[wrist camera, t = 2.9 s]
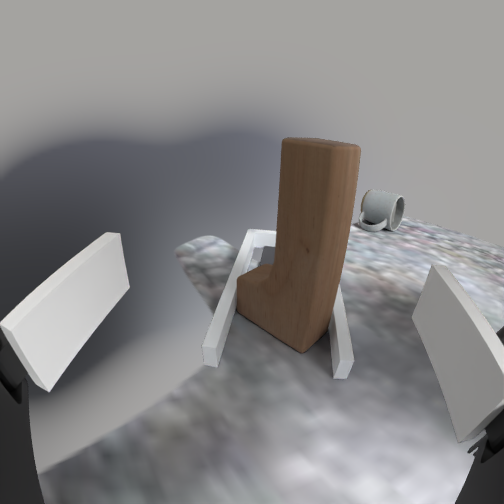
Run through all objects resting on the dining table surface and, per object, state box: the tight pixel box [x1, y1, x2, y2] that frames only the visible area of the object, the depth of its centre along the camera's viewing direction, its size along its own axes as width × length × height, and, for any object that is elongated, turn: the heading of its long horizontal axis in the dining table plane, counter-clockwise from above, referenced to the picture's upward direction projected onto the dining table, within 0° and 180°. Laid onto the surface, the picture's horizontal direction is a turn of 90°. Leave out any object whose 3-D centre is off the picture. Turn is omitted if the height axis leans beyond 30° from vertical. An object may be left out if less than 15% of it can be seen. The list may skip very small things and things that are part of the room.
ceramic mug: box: [359, 190, 405, 232], centre depth 53 cm, size 11×8×8 cm
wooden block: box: [237, 138, 361, 353], centre depth 24 cm, size 9×4×18 cm, turn 45°
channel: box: [202, 229, 354, 379], centre depth 32 cm, size 12×25×2 cm, turn 172°
